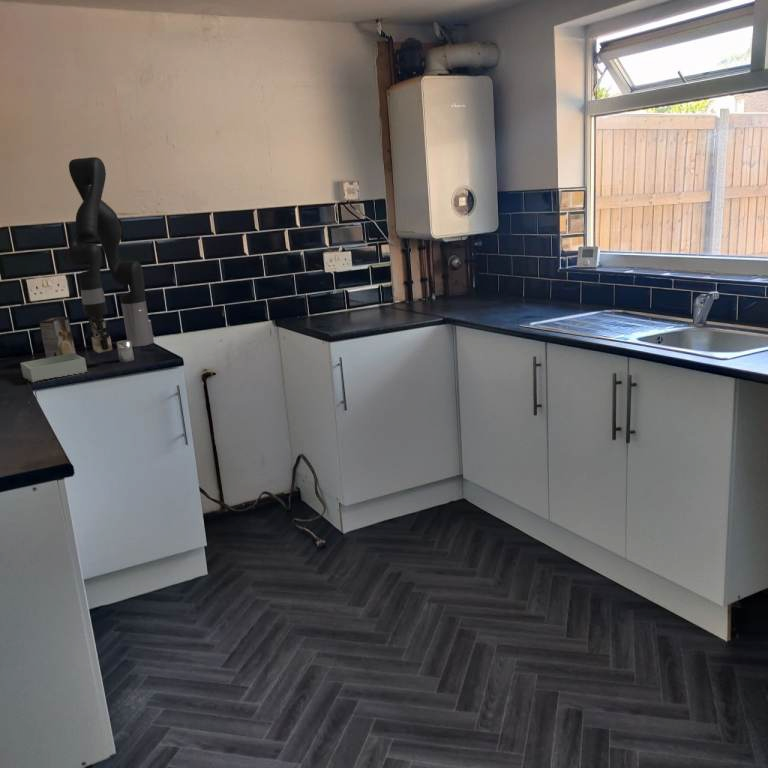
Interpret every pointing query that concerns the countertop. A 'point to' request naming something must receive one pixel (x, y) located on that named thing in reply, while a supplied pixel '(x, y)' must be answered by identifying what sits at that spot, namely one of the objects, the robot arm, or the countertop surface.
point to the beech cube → (97, 344)
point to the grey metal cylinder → (125, 351)
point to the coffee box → (57, 336)
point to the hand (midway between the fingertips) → (102, 348)
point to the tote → (53, 367)
